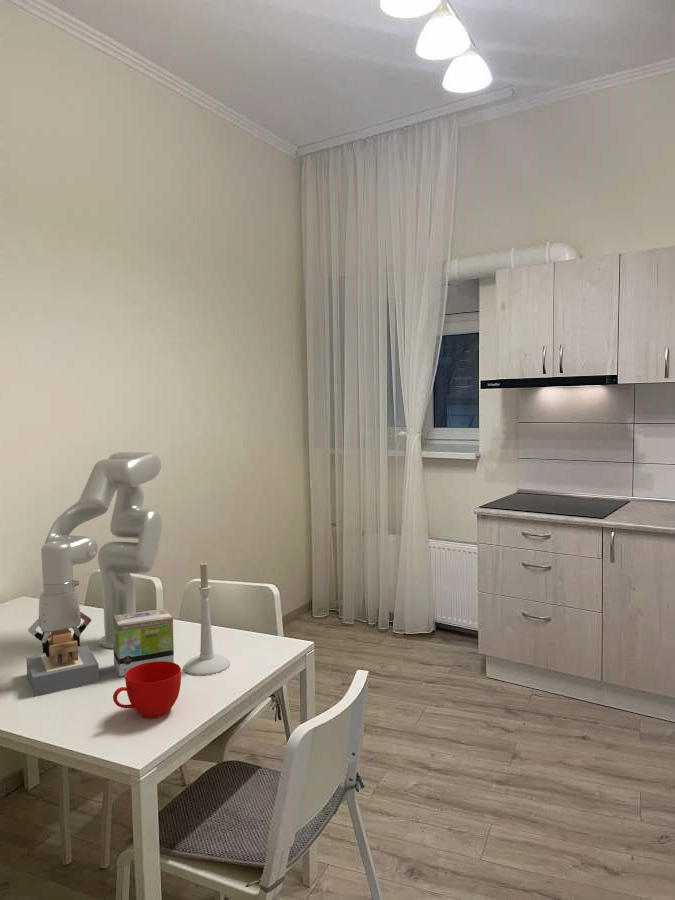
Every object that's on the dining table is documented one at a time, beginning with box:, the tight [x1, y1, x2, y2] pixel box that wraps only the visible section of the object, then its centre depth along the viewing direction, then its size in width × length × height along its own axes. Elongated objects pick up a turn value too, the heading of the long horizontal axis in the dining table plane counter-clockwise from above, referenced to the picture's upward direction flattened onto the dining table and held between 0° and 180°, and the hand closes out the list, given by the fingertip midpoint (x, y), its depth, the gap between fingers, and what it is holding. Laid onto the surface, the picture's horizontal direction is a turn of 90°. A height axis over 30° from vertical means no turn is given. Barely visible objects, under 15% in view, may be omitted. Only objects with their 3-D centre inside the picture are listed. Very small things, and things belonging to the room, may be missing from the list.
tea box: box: [113, 608, 175, 678], centre depth 184 cm, size 15×10×15 cm
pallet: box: [48, 629, 78, 665], centre depth 177 cm, size 7×11×5 cm, turn 31°
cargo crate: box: [50, 629, 72, 645], centre depth 177 cm, size 4×5×3 cm
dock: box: [26, 645, 100, 697], centre depth 177 cm, size 16×16×5 cm
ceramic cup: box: [112, 661, 182, 719], centre depth 155 cm, size 13×17×10 cm
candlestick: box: [183, 562, 231, 677], centre depth 183 cm, size 13×13×30 cm
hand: (61, 651), depth 177 cm, fingers closed on pallet, 6 cm apart
